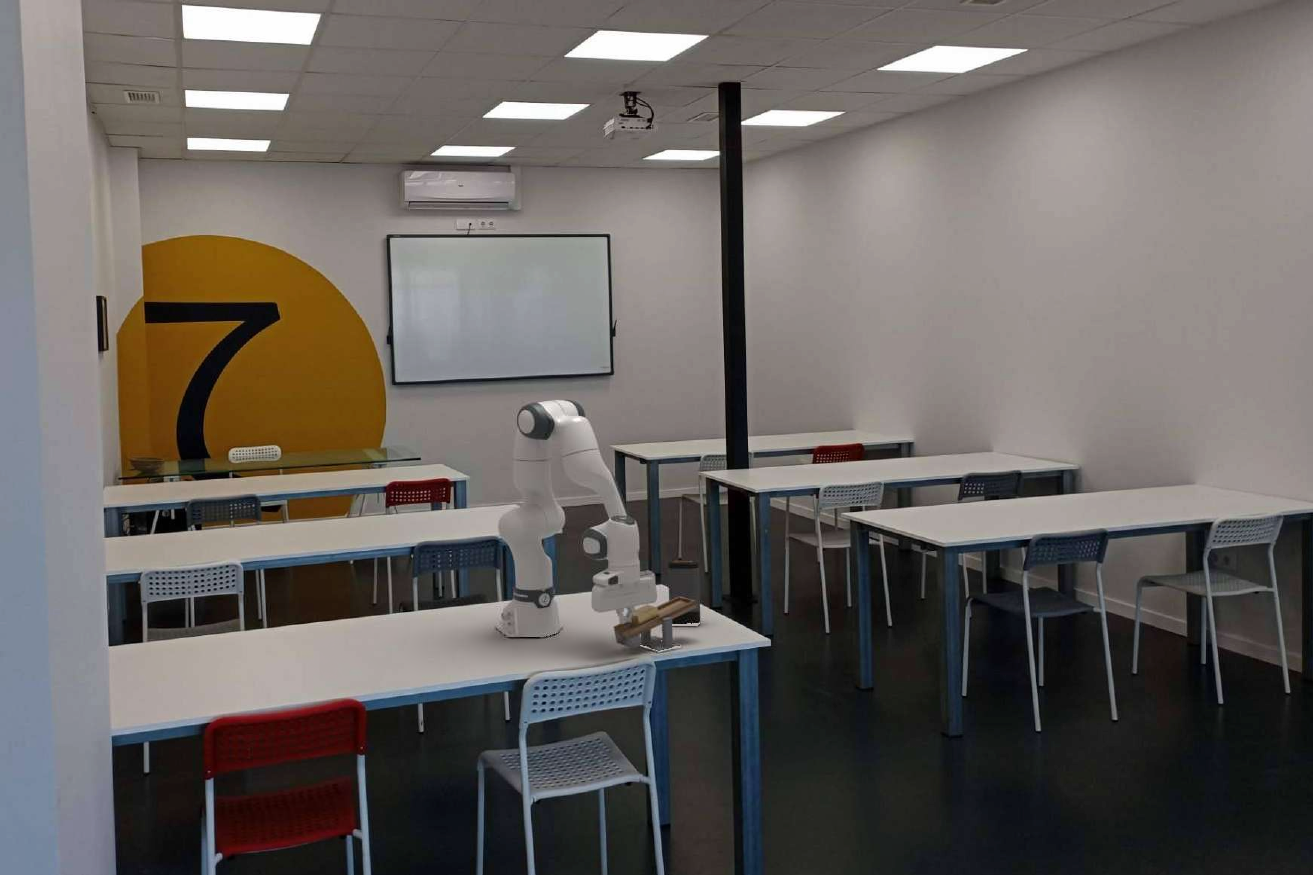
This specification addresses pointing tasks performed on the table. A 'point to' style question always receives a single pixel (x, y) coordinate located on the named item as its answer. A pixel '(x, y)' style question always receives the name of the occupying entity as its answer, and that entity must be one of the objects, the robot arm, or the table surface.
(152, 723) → the table surface
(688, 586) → the electronic device
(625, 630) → the beam
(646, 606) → the rider
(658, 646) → the stand
